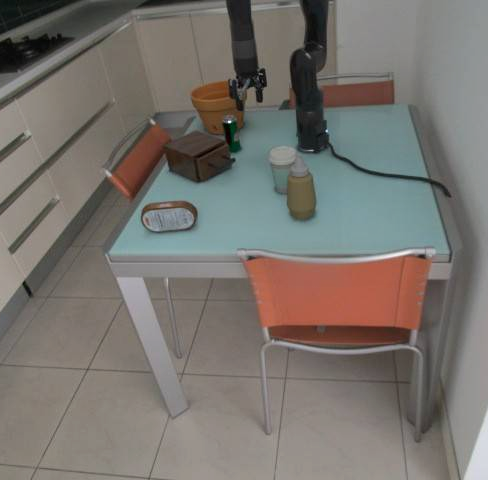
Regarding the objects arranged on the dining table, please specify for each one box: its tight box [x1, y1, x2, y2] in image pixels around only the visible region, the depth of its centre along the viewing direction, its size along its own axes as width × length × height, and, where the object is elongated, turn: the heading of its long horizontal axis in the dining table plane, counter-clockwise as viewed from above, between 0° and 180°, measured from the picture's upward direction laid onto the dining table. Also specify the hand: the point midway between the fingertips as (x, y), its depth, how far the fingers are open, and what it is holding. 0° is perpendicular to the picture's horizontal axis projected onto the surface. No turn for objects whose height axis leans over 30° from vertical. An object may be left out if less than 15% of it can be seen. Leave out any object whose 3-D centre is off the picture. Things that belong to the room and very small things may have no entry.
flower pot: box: [189, 80, 248, 135], centre depth 176 cm, size 21×21×15 cm
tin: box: [140, 199, 199, 233], centre depth 124 cm, size 15×3×8 cm, turn 92°
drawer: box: [195, 144, 236, 182], centre depth 149 cm, size 19×12×7 cm, turn 47°
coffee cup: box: [267, 145, 298, 194], centre depth 135 cm, size 8×8×12 cm
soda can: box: [222, 115, 242, 153], centre depth 160 cm, size 5×5×12 cm
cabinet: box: [163, 129, 226, 184], centre depth 152 cm, size 15×14×9 cm
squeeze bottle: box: [286, 152, 318, 221], centre depth 121 cm, size 8×8×18 cm
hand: (250, 106), depth 149 cm, fingers open, 8 cm apart
